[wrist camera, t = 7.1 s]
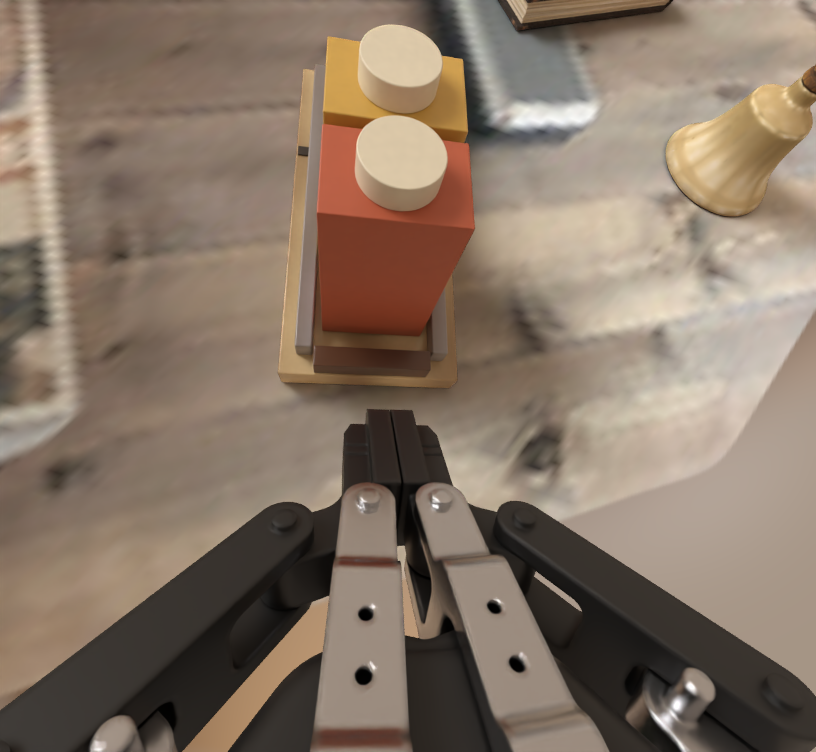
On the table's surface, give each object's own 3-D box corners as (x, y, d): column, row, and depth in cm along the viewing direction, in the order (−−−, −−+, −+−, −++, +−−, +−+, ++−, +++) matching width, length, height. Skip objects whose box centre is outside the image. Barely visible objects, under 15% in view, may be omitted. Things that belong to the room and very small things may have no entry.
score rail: (280, 382, 22) (274, 365, 19) (304, 90, 28) (302, 48, 25) (450, 388, 23) (464, 373, 21) (438, 110, 29) (448, 72, 27)
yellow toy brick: (325, 261, 22) (322, 82, 13) (328, 206, 23) (327, 3, 14) (418, 269, 23) (477, 106, 14) (417, 215, 24) (471, 30, 15)
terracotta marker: (322, 331, 21) (315, 189, 12) (325, 269, 22) (321, 94, 13) (419, 336, 22) (486, 208, 13) (418, 277, 23) (479, 118, 14)
